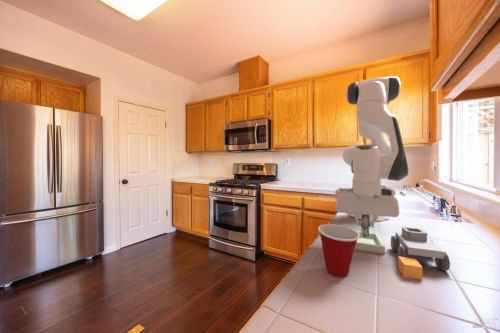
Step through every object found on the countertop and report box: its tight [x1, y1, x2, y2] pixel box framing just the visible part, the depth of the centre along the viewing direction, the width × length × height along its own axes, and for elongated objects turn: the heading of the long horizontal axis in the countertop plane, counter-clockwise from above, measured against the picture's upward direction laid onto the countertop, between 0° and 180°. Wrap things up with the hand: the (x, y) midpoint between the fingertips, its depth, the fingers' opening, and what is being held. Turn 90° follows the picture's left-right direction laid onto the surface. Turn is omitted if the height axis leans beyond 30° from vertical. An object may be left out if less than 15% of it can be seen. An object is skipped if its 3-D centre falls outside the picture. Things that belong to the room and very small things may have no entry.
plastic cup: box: [317, 223, 360, 278], centre depth 58 cm, size 11×11×12 cm
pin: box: [360, 214, 370, 237], centre depth 77 cm, size 3×3×8 cm
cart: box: [390, 226, 451, 272], centre depth 65 cm, size 14×11×8 cm
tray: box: [354, 230, 386, 255], centre depth 77 cm, size 13×10×2 cm
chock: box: [397, 255, 423, 281], centre depth 58 cm, size 5×4×4 cm
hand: (365, 226), depth 77 cm, fingers closed on pin, 3 cm apart
